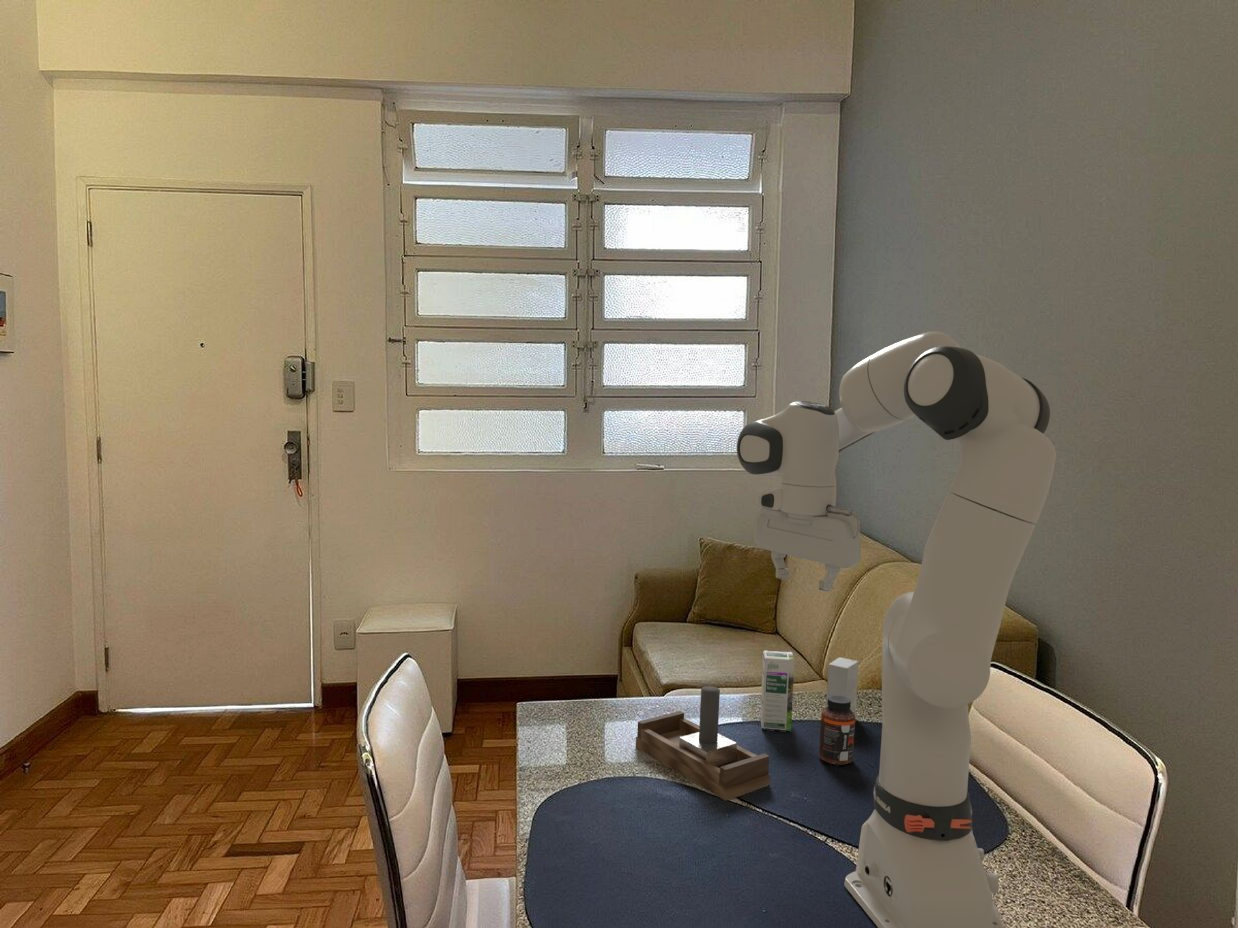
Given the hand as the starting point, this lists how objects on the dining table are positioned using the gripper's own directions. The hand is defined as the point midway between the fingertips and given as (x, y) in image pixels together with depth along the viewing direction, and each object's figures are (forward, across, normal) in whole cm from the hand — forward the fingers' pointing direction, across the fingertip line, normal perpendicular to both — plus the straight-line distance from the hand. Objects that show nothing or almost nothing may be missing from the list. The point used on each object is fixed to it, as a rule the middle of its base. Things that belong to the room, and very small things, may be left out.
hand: (803, 584), depth 142 cm
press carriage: (+32, +12, +9) cm, 35 cm away
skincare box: (+34, +14, -30) cm, 48 cm away
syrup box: (+34, +19, -16) cm, 42 cm away
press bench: (+34, +14, +9) cm, 38 cm away
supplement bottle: (+34, +2, -14) cm, 37 cm away
